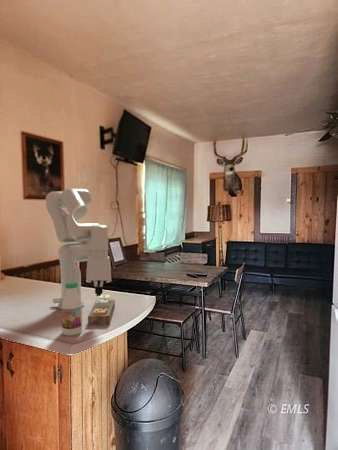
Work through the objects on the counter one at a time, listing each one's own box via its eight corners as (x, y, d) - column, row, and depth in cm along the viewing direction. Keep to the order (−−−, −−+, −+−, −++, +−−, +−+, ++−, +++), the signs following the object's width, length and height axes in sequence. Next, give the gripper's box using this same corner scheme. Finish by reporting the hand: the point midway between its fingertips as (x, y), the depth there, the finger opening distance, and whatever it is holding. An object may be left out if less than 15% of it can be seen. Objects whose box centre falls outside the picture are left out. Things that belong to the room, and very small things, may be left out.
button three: (93, 323, 134) (93, 312, 134) (95, 319, 139) (95, 308, 139) (105, 323, 135) (105, 311, 134) (106, 319, 140) (106, 308, 139)
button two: (96, 313, 142) (95, 302, 141) (97, 309, 146) (97, 298, 146) (107, 313, 142) (107, 301, 142) (108, 309, 147) (108, 298, 147)
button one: (98, 308, 149) (98, 297, 149) (100, 304, 154) (99, 294, 154) (109, 307, 149) (109, 297, 149) (110, 304, 154) (110, 294, 154)
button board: (88, 325, 132) (87, 316, 132) (96, 307, 156) (96, 299, 155) (109, 325, 133) (109, 315, 133) (114, 307, 156) (114, 299, 156)
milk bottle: (64, 329, 129) (63, 280, 128) (84, 328, 129) (83, 280, 128) (60, 336, 121) (58, 285, 120) (80, 336, 122) (79, 285, 121)
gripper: (79, 255, 131) (79, 297, 133) (115, 255, 132) (115, 297, 134) (83, 252, 138) (83, 292, 140) (117, 252, 140) (116, 292, 141)
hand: (98, 295), depth 137 cm, fingers closed
